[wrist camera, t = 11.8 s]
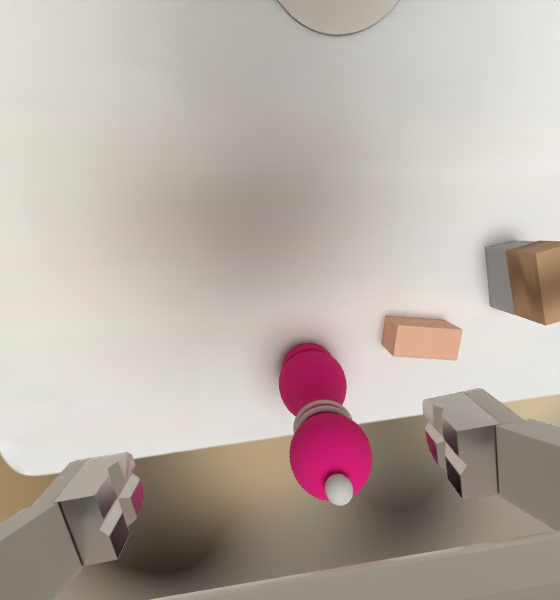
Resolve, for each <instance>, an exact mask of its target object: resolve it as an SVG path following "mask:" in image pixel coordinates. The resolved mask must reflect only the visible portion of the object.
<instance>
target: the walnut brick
mask: <svg viewBox="0 0 560 600" xmlns="http://www.w3.org/2000/svg"><path fill="white" fill-rule="evenodd" d="M505 254H506V260H507V267H508V273H509V279H510V286H511V292H512V298H513V305H514V311H515V315H517V316H520V317H523V318H526V319H529V320H532V321H534V322H537V323H540V324H543V325H549V324H552V323H556V322H559V321H560V242H559V241H536V242H533V243H530V244H526V245H523V246H520V247H516V248H513V249H510V250H506V251H505Z"/></svg>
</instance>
